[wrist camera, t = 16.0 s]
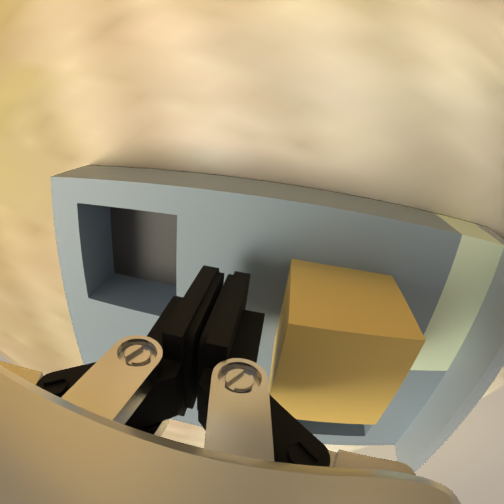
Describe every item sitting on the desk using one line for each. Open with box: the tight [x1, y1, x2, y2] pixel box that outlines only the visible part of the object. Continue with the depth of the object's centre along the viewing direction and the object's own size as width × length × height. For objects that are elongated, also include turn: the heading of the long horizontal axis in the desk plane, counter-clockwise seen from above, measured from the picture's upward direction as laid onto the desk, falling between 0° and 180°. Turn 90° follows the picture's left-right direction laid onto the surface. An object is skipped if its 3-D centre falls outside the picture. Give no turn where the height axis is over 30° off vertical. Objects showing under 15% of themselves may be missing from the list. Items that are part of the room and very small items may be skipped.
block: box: [269, 259, 426, 425], centre depth 10 cm, size 4×4×4 cm
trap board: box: [51, 165, 504, 473], centre depth 14 cm, size 14×21×6 cm, turn 84°
